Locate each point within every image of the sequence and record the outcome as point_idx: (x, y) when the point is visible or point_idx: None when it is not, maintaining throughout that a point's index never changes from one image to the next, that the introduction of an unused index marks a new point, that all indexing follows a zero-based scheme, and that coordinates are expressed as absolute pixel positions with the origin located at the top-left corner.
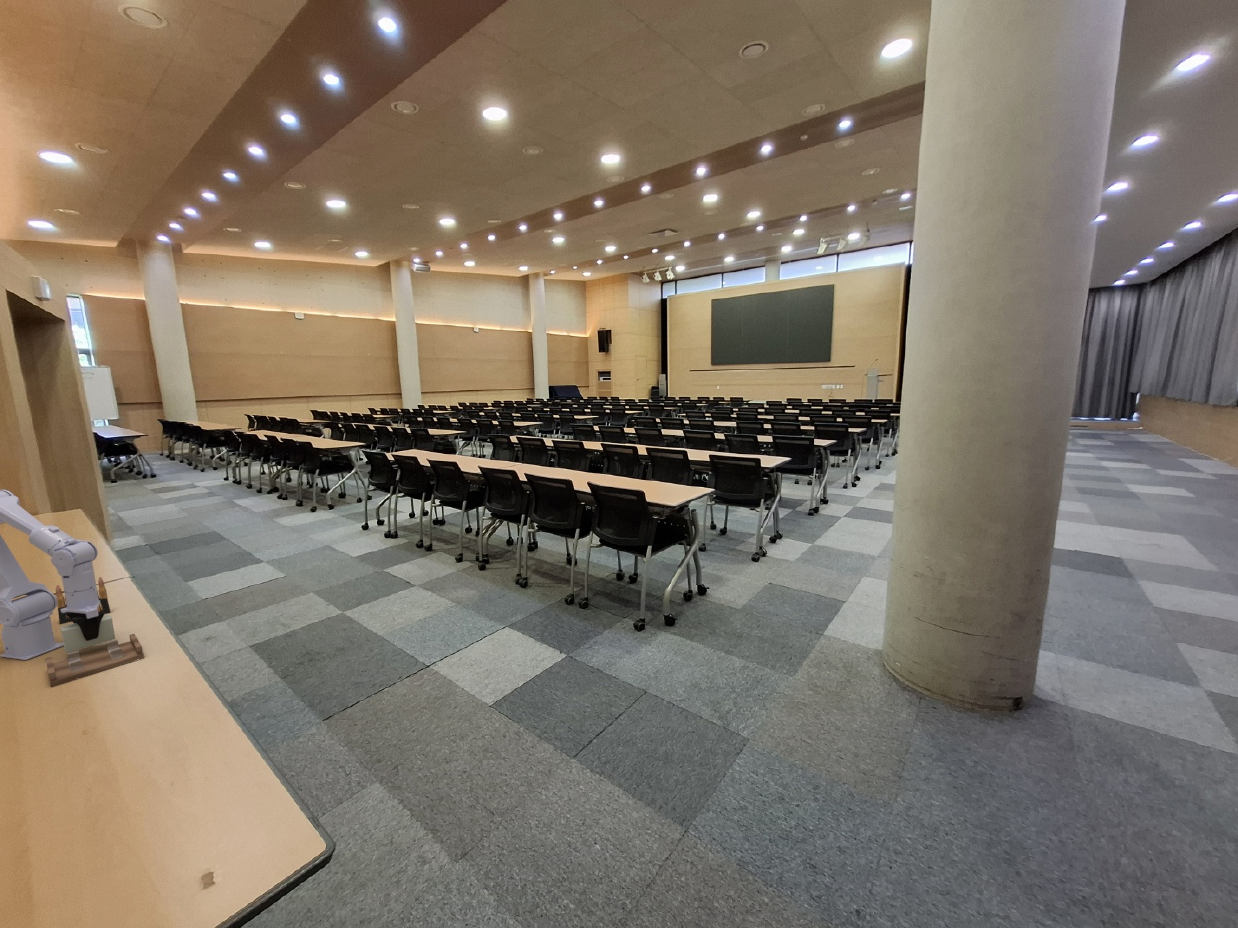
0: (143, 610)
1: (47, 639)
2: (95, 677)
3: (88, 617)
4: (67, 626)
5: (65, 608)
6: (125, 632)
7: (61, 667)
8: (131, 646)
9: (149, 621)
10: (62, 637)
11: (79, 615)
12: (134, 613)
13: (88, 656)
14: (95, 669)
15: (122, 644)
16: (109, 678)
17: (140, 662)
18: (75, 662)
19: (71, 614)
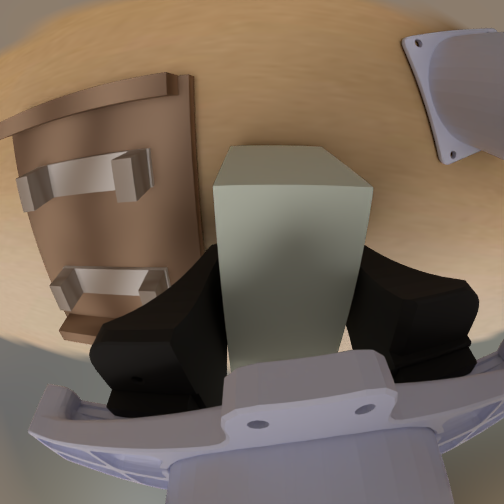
0: (473, 337)
1: (466, 123)
2: (19, 215)
3: (48, 392)
4: (325, 227)
5: (341, 426)
6: None
7: (107, 129)
8: None
9: None
10: (326, 161)
11: (374, 337)
12: (478, 324)
13: (153, 212)
14: (33, 224)
15: None
16: (3, 240)
17: (54, 301)
18: (19, 194)
19: (398, 323)
